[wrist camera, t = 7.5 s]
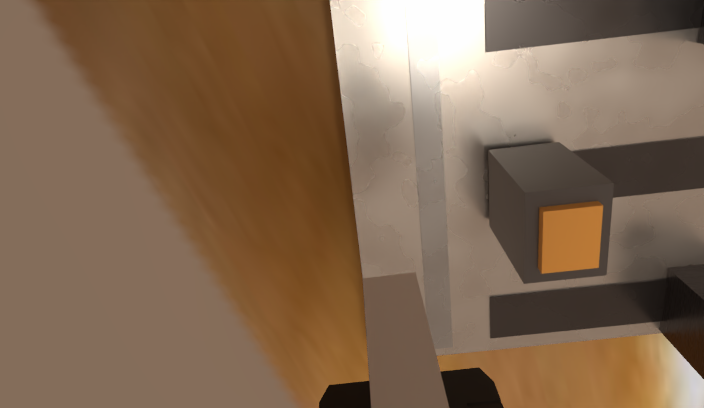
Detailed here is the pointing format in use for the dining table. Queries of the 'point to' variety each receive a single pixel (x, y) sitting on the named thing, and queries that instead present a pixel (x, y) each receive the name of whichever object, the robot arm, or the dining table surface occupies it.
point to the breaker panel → (522, 130)
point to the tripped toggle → (550, 212)
